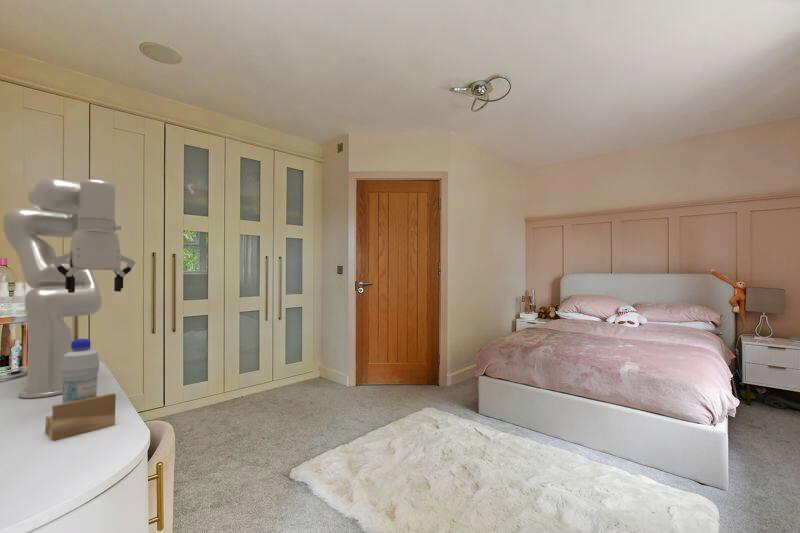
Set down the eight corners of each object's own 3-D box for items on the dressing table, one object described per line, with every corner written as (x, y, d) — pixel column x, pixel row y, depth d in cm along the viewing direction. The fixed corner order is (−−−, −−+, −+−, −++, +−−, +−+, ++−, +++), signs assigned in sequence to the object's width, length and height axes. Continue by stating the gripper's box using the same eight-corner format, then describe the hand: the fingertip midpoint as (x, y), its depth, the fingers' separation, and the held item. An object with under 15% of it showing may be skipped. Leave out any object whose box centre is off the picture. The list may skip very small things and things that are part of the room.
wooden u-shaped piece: (45, 431, 81) (46, 399, 82) (104, 417, 90) (105, 388, 90) (52, 440, 77) (53, 406, 77) (114, 424, 85) (115, 394, 85)
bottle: (75, 434, 80) (77, 341, 81) (51, 431, 82) (53, 340, 82) (105, 422, 87) (107, 336, 87) (82, 420, 88) (84, 335, 89)
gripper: (130, 231, 107) (129, 290, 106) (49, 225, 93) (47, 292, 93) (140, 229, 102) (138, 291, 102) (56, 222, 89) (54, 293, 88)
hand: (95, 291), depth 97 cm, fingers open, 9 cm apart
